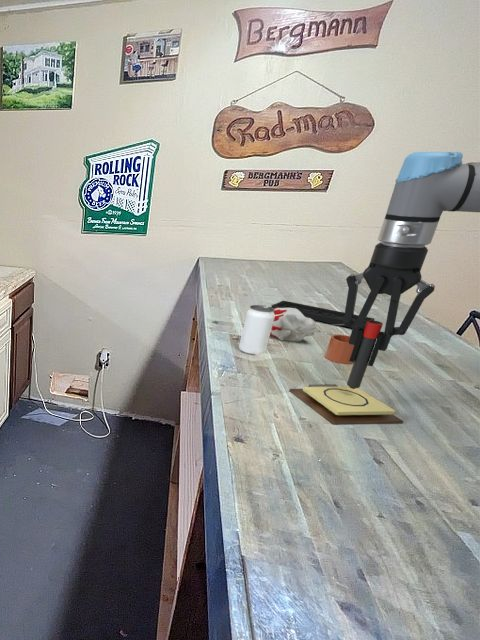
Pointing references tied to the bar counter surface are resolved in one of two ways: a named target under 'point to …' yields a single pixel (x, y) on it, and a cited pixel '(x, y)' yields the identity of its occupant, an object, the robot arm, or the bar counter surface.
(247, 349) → the can
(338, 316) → the black long bar
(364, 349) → the marker
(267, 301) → the bar counter surface
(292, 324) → the grey lumpy piece
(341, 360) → the pen cup
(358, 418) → the clipboard
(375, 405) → the notepad
